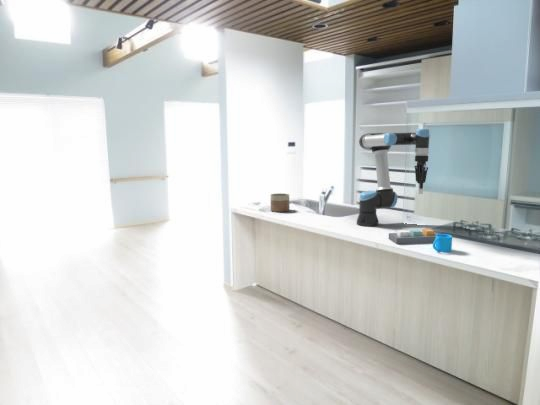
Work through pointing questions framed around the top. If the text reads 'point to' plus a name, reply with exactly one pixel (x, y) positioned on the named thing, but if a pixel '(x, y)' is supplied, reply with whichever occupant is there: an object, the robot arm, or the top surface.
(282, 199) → the planter
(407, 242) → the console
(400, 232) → the button white
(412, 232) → the button teal
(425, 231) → the button orange
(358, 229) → the top surface
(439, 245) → the mug
